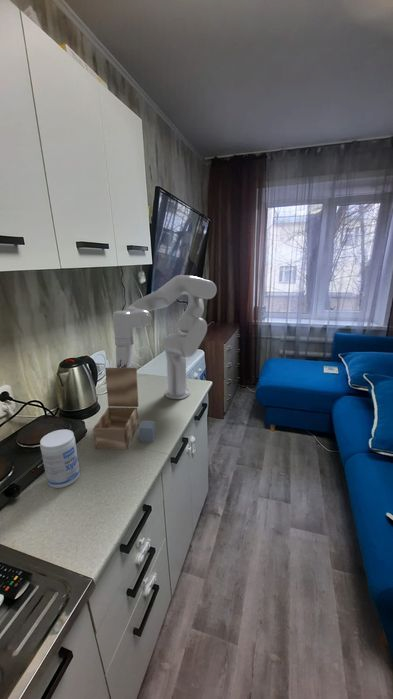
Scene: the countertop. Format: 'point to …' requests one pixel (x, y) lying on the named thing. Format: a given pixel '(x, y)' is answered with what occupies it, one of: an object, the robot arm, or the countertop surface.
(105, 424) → the box
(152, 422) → the block
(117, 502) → the countertop surface
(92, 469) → the countertop surface
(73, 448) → the supplement tub
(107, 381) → the lid
